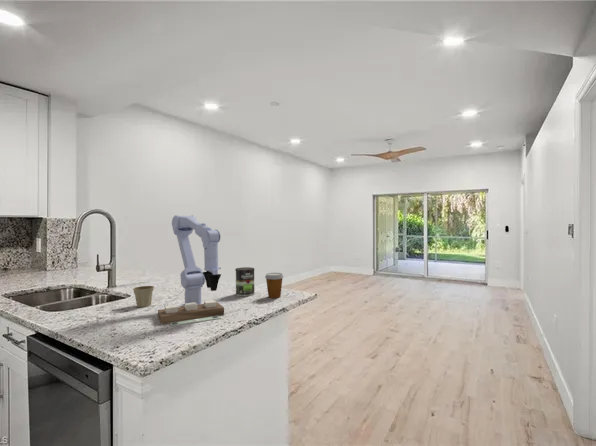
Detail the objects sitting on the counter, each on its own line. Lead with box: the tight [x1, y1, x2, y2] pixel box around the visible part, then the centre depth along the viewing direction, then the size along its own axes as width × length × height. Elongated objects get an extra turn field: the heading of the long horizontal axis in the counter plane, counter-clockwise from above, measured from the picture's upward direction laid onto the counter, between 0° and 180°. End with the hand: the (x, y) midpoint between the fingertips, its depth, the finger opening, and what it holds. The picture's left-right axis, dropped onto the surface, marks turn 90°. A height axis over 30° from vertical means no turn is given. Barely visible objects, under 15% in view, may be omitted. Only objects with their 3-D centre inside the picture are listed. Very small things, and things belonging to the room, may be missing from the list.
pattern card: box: [169, 315, 221, 327], centre depth 133 cm, size 4×19×1 cm, turn 119°
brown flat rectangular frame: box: [157, 302, 225, 325], centre depth 140 cm, size 11×25×3 cm, turn 119°
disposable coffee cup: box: [264, 272, 284, 299], centre depth 173 cm, size 10×10×12 cm
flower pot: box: [132, 285, 155, 308], centre depth 158 cm, size 9×9×9 cm
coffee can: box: [234, 266, 255, 297], centre depth 180 cm, size 10×10×14 cm
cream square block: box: [164, 304, 178, 314], centre depth 136 cm, size 4×4×3 cm
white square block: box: [203, 299, 218, 308], centre depth 144 cm, size 4×4×3 cm
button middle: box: [184, 302, 198, 311], centre depth 140 cm, size 4×4×3 cm
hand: (211, 289), depth 144 cm, fingers open, 7 cm apart
